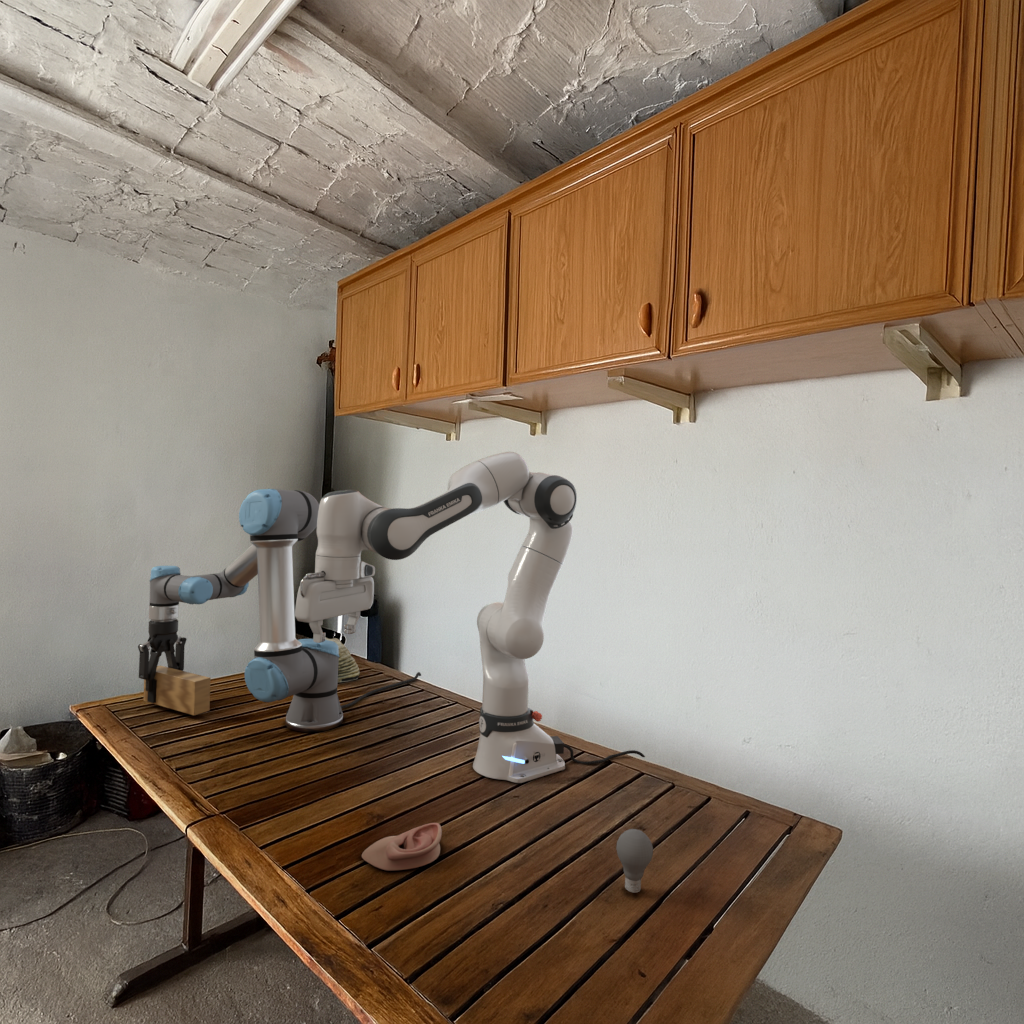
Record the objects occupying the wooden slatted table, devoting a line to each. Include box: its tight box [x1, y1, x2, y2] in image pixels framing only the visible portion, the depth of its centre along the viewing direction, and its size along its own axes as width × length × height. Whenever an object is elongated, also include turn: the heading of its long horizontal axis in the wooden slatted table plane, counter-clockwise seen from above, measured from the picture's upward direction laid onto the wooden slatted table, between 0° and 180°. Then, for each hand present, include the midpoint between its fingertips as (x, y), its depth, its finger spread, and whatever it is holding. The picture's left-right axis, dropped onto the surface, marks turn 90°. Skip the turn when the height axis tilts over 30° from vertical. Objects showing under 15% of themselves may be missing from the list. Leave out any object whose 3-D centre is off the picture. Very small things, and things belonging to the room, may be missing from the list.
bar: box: [143, 665, 212, 716], centre depth 181 cm, size 22×5×9 cm, turn 63°
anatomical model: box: [361, 822, 443, 872], centre depth 114 cm, size 13×4×12 cm
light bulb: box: [615, 828, 654, 894], centre depth 106 cm, size 6×6×10 cm
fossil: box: [325, 636, 361, 683], centre depth 216 cm, size 9×18×15 cm, turn 132°
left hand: (160, 699), depth 184 cm, fingers closed on bar, 5 cm apart
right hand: (335, 637), depth 128 cm, fingers open, 8 cm apart
